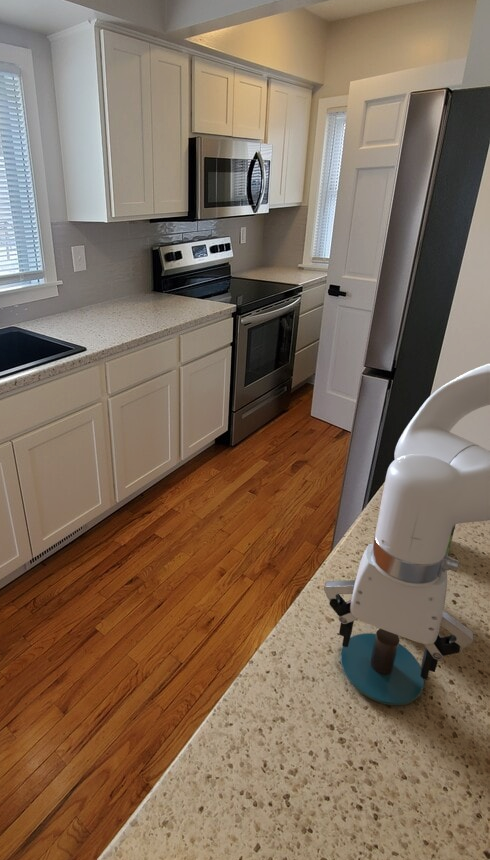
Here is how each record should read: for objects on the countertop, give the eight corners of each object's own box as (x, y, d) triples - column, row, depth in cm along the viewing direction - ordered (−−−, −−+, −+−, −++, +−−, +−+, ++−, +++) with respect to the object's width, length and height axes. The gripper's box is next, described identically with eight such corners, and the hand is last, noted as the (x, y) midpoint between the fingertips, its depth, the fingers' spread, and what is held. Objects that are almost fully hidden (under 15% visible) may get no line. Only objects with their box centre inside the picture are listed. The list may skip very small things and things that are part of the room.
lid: (425, 657, 68) (435, 623, 65) (418, 723, 60) (429, 688, 57) (348, 627, 73) (353, 594, 70) (332, 685, 64) (338, 650, 62)
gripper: (491, 559, 57) (459, 660, 64) (338, 515, 65) (325, 609, 72) (493, 603, 51) (457, 709, 58) (325, 549, 59) (311, 648, 66)
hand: (384, 654), depth 65 cm, fingers open, 9 cm apart
